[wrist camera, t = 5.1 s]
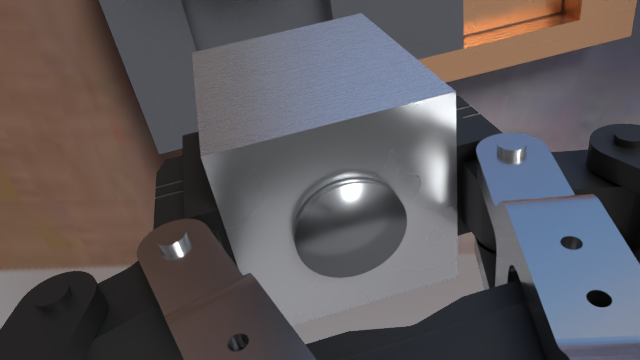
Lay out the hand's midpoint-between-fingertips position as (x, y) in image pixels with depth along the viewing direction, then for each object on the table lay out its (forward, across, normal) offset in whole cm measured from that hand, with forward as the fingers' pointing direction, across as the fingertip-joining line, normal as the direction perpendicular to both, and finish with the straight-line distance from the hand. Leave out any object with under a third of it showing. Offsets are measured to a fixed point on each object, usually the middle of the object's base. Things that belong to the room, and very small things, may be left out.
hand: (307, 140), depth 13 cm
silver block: (+2, 0, 0) cm, 2 cm away
